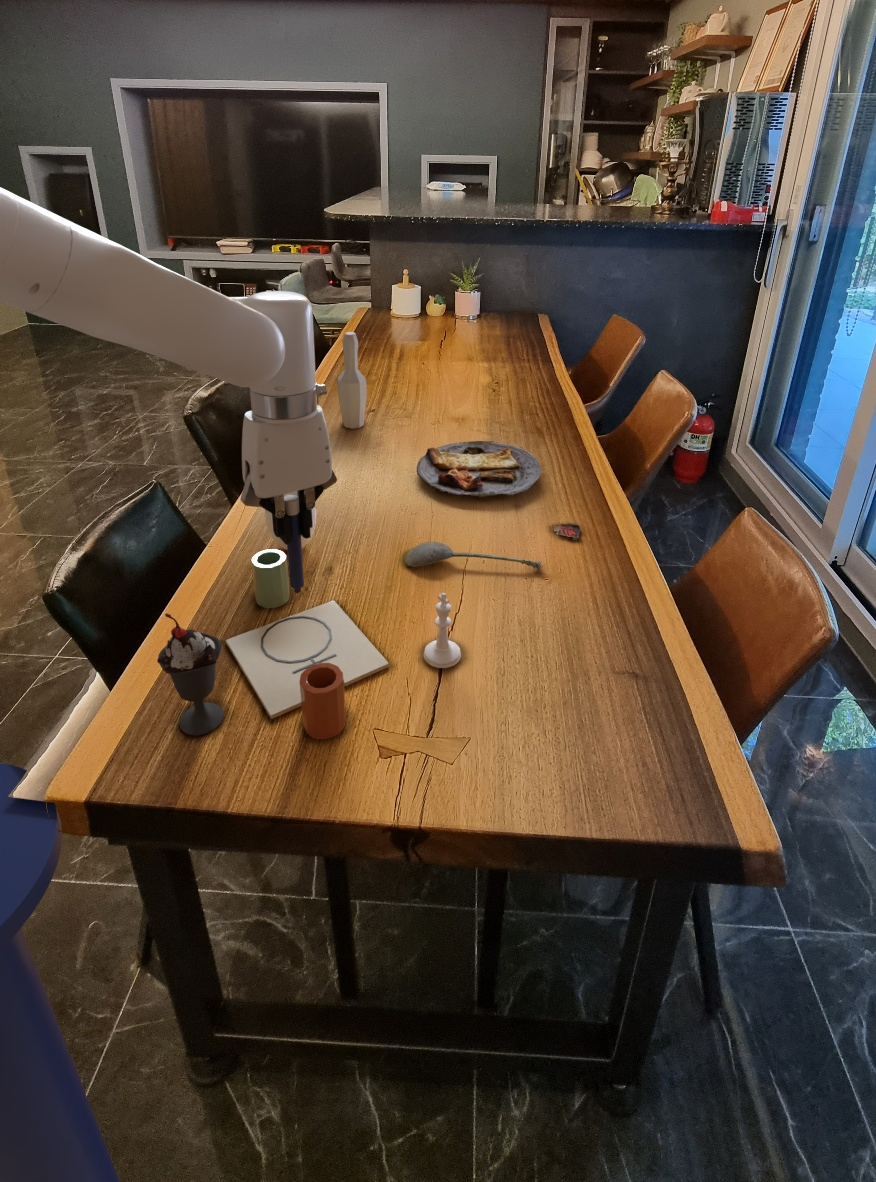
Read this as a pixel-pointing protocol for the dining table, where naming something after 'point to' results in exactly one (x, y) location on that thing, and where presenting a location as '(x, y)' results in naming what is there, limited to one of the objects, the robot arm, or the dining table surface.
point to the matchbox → (568, 530)
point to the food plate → (479, 468)
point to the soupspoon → (450, 555)
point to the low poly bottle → (351, 385)
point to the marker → (294, 543)
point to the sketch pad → (302, 654)
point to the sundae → (193, 676)
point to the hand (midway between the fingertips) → (293, 535)
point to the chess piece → (442, 639)
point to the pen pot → (323, 700)
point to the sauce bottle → (277, 539)
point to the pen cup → (270, 578)
